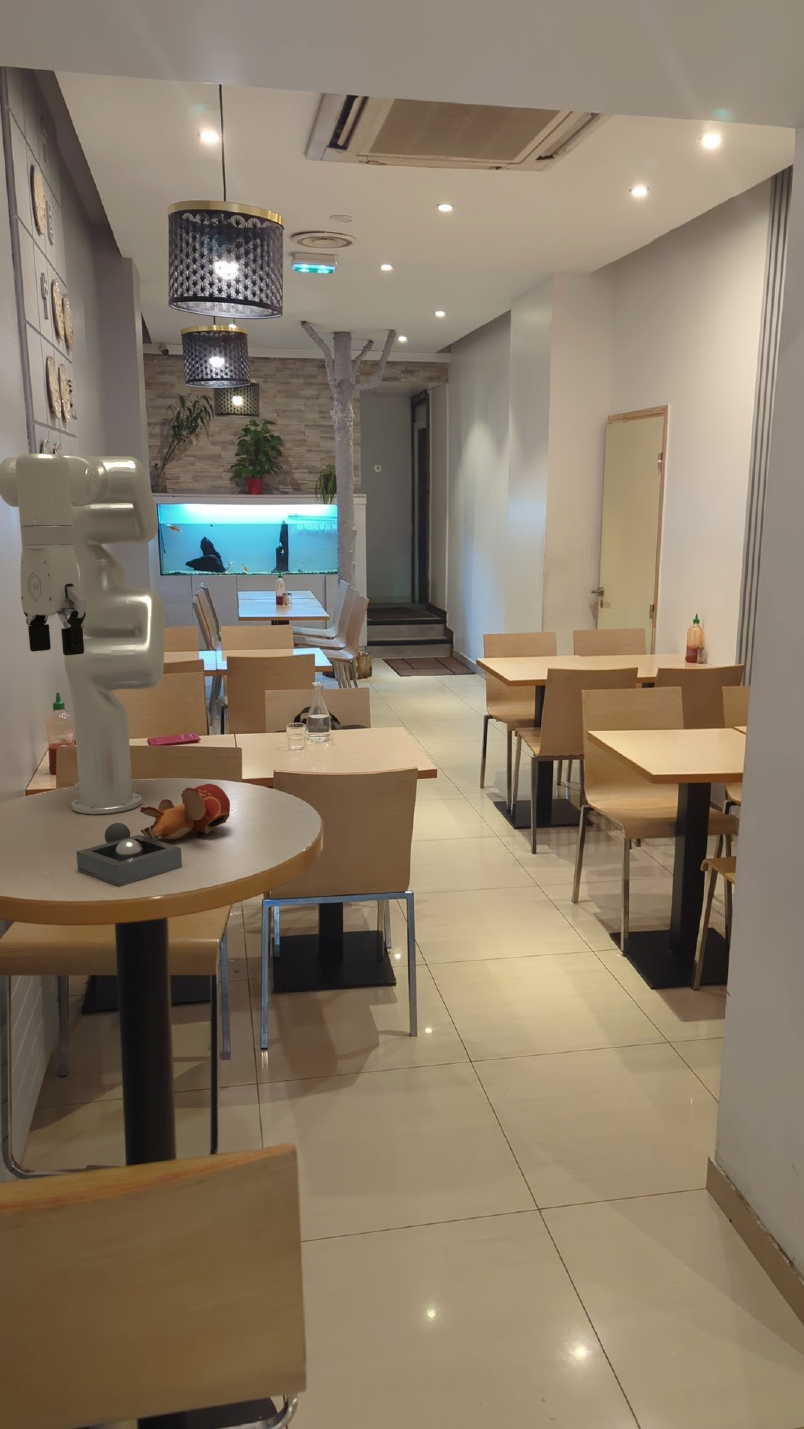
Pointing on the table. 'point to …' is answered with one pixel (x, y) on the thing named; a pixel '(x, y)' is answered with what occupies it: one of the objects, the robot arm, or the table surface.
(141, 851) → the steel ball
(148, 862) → the square metal tray
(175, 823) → the figurine
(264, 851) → the table surface
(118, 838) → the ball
